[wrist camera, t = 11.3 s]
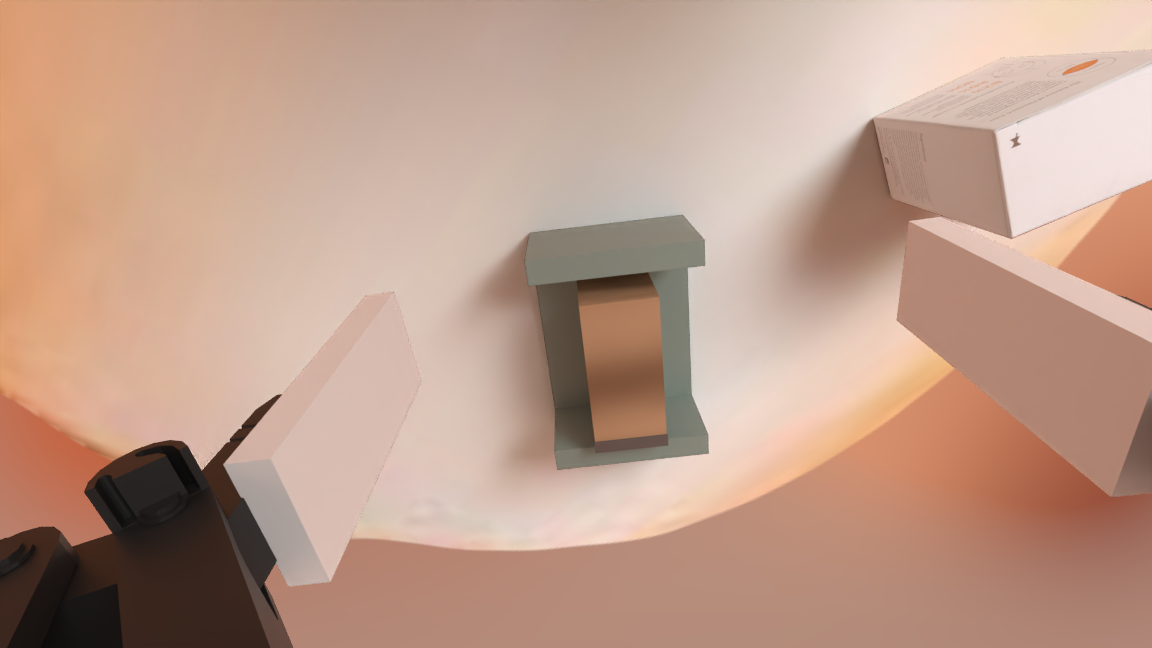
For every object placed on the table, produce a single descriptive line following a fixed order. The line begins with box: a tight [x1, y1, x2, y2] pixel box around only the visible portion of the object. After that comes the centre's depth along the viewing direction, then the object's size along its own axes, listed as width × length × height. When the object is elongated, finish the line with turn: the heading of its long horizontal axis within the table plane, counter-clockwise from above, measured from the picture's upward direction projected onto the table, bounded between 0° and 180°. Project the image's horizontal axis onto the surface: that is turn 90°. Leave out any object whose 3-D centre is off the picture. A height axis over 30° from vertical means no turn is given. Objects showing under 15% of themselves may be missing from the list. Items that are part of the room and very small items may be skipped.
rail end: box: [577, 272, 669, 453], centre depth 36 cm, size 10×5×6 cm, turn 7°
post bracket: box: [524, 215, 709, 470], centre depth 36 cm, size 14×10×6 cm
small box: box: [873, 50, 1152, 239], centre depth 30 cm, size 8×6×10 cm
